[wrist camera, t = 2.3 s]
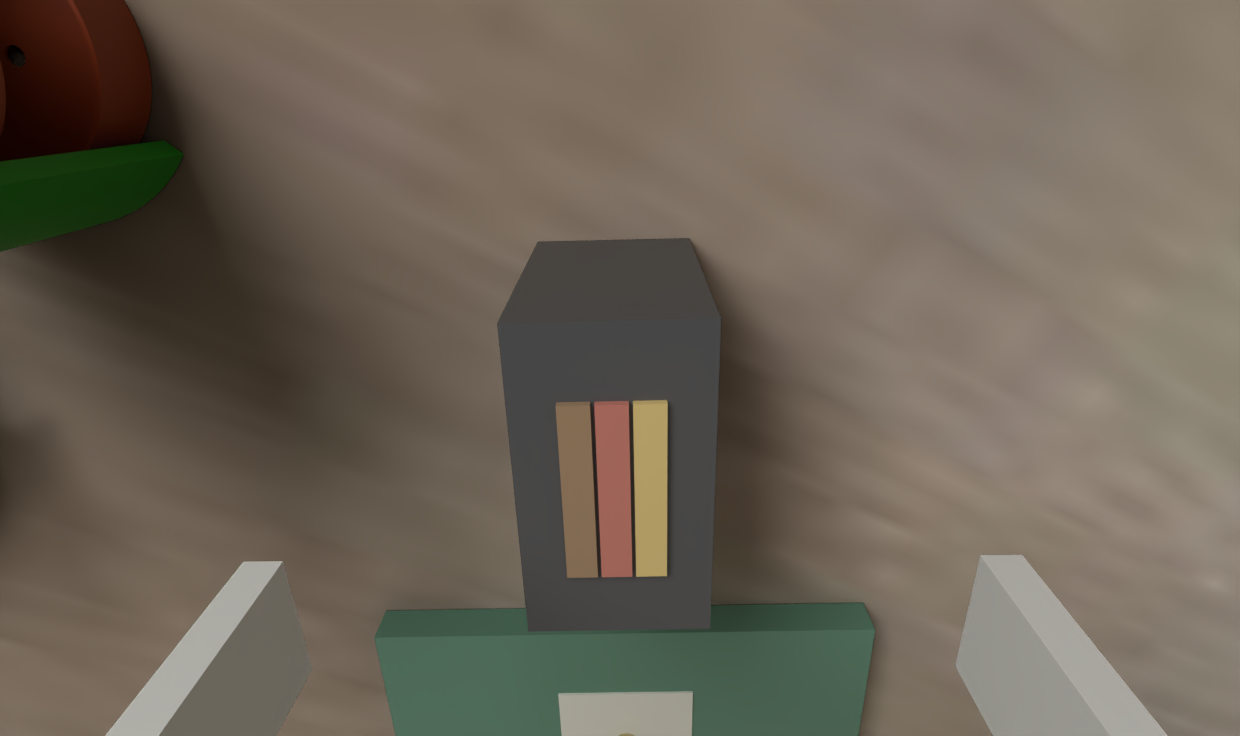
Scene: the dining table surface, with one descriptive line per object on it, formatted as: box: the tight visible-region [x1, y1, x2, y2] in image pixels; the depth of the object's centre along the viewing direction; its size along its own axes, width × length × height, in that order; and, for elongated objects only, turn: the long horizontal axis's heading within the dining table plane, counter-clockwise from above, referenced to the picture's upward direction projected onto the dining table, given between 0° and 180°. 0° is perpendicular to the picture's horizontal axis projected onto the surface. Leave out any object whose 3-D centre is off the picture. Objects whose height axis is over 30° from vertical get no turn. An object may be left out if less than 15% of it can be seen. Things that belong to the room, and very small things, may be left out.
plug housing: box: [497, 238, 721, 632], centre depth 21 cm, size 5×9×8 cm, turn 1°
